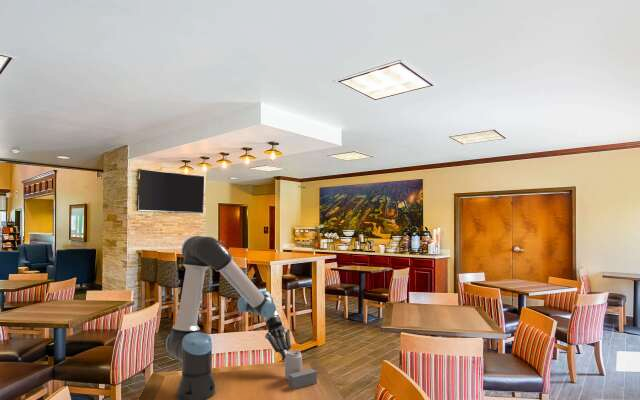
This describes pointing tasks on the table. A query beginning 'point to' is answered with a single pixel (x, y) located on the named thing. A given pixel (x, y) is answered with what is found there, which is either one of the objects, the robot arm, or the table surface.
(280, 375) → the table surface
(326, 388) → the table surface
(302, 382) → the block
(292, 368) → the can
